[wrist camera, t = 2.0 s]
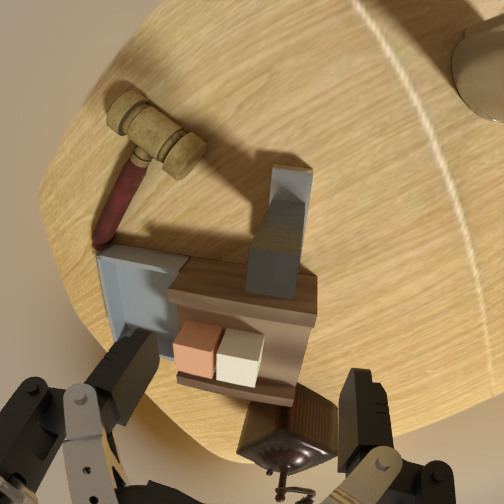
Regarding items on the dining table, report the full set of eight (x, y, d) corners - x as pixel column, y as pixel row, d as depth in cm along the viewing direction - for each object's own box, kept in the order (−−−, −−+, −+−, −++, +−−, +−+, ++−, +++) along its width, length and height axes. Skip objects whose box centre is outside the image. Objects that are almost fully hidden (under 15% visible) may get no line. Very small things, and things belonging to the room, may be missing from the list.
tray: (111, 242, 36) (96, 254, 33) (190, 256, 35) (178, 270, 32) (125, 329, 42) (114, 343, 39) (193, 346, 41) (184, 363, 38)
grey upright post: (275, 163, 29) (247, 200, 17) (313, 168, 28) (313, 210, 16) (267, 245, 33) (238, 325, 21) (301, 250, 32) (291, 334, 20)
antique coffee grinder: (243, 406, 45) (215, 504, 29) (289, 375, 40) (270, 493, 24) (313, 442, 47) (303, 530, 31) (361, 417, 42) (362, 517, 26)
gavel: (113, 288, 36) (58, 238, 34) (131, 269, 40) (79, 224, 38) (196, 148, 25) (118, 90, 24) (214, 140, 29) (143, 88, 28)
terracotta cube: (186, 319, 32) (172, 343, 29) (222, 327, 32) (211, 352, 28) (188, 346, 34) (175, 369, 31) (221, 353, 34) (211, 378, 30)
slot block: (192, 256, 35) (167, 288, 29) (317, 276, 33) (317, 314, 27) (195, 347, 41) (177, 383, 35) (296, 366, 39) (291, 406, 33)
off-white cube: (226, 327, 32) (216, 353, 28) (264, 334, 31) (258, 361, 28) (225, 354, 34) (216, 379, 30) (260, 361, 33) (254, 387, 30)
